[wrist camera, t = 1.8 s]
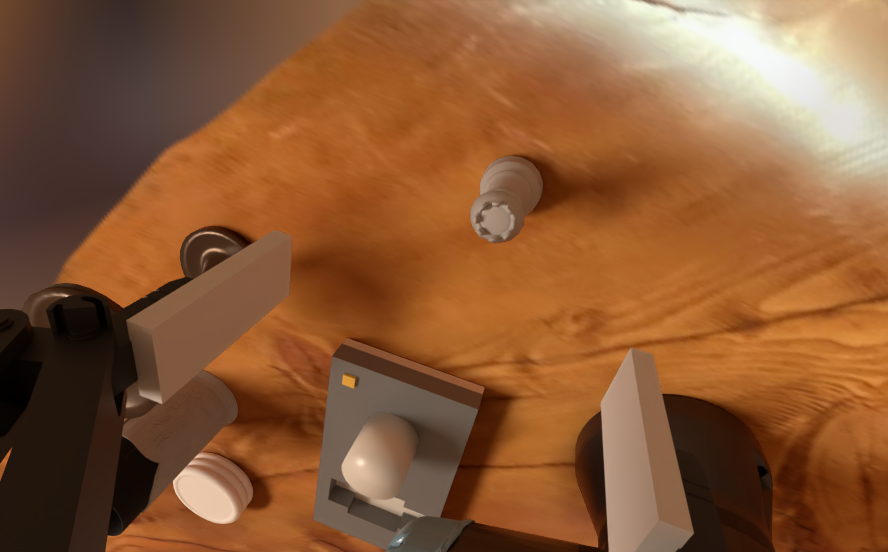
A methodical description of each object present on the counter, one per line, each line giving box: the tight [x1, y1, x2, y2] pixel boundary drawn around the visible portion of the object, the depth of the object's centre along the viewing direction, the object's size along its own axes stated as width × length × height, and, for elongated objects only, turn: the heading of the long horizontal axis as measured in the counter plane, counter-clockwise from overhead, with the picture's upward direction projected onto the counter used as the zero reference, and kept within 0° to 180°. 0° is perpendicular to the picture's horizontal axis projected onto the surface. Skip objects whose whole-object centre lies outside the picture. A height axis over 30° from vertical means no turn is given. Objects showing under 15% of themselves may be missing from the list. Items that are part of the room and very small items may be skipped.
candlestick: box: [22, 226, 251, 419], centre depth 29 cm, size 11×11×35 cm
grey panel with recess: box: [313, 338, 485, 550], centre depth 46 cm, size 14×26×8 cm, turn 168°
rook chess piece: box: [470, 156, 543, 243], centre depth 29 cm, size 4×4×8 cm
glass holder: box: [108, 370, 238, 536], centre depth 47 cm, size 9×14×15 cm, turn 51°
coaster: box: [173, 452, 253, 524], centre depth 60 cm, size 10×10×4 cm
